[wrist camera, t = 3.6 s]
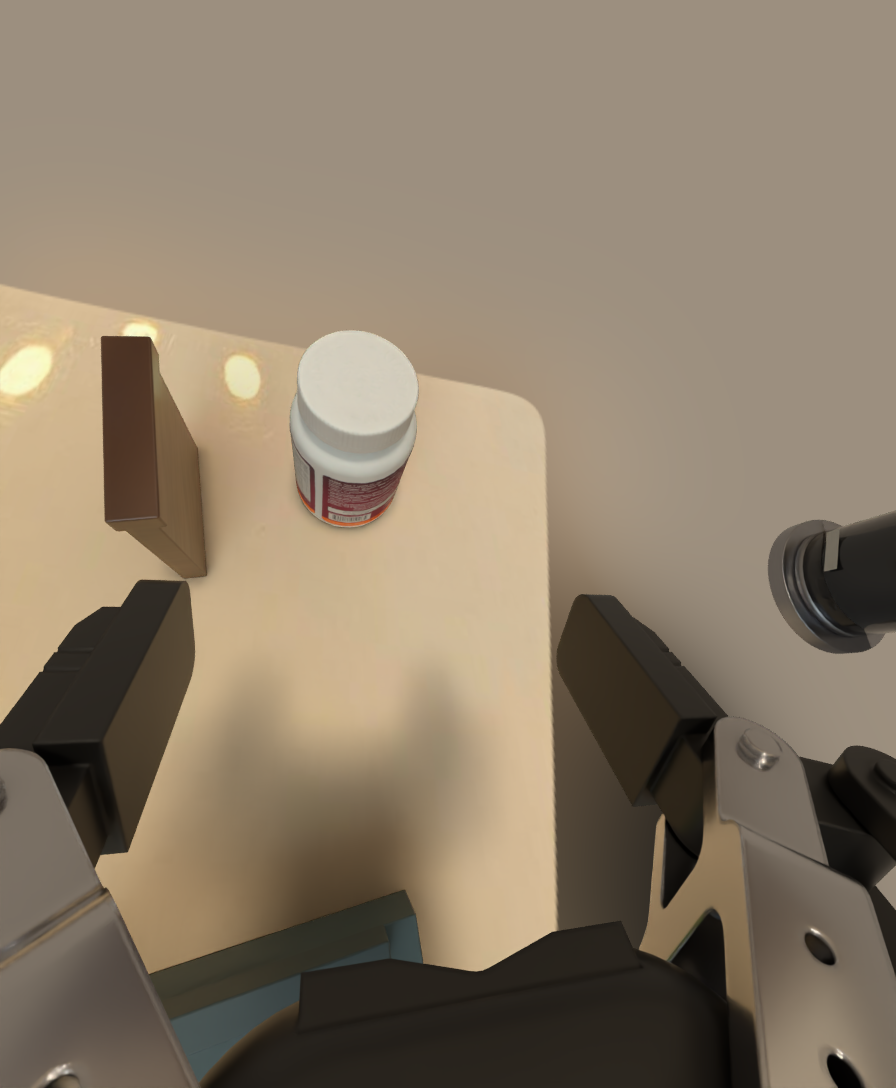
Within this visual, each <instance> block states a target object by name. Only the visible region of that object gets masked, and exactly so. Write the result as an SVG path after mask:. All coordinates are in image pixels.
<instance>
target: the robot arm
mask: <svg viewBox="0 0 896 1088" xmlns="http://www.w3.org/2000/svg"><path fill="white" fill-rule="evenodd" d="M795 575H796V581H797V585H798V588H799V591H800V594H801V596H802V598H803V600H804V602H805V604H806V606H807V607H808V609H809V610H810V612H811V613H812V614H813V615H814V617H815V618H816V619H817V620H818V621H819V622H820V623H821V624H822V625H824V626H825V627H826V628H828V629H829V630H831V631H832V632H834V633H836V634H838V635H841V636H845V637H864V636H868V635H872V634H883V633H893V632H896V511H892V512H889V513H886V514H883V515H879V516H876V517H873V518H870V519H866V520H863V521H859V522H856V523H853V524H849V525H846V526H842V527H839V528H836V529H833V530H829V531H822V532H819V533H816V534H813V535H811V536H809V537H808V538H806V539H805V540H804V541H803V542H802V544H801V545H800V547H799V549H798V552H797V555H796V560H795ZM194 660H195V641H194V630H193V619H192V609H191V598H190V589H189V585H188V583H187V582H186V581H167V580H139V581H138V582H137V583H136V584H135V586H134V587H133V589H132V590H131V592H130V593H129V595H128V597H127V598H126V600H125V601H124V603H123V604H122V606H121V607H101V608H100V609H98V610H97V611H95V612H94V613H92V614H91V615H89V616H88V617H86V618H85V619H83V620H82V621H80V622H79V623H77V624H76V625H75V626H74V627H73V628H72V630H71V631H70V632H69V634H68V635H67V636H66V638H65V639H64V640H63V642H62V643H61V644H60V646H59V647H58V652H54V654H53V655H52V656H51V658H50V659H49V660H48V662H47V663H46V664H45V666H44V670H43V672H39V674H38V675H37V676H36V678H35V679H34V680H33V682H32V683H31V684H30V686H29V687H28V688H27V690H26V691H25V692H24V694H23V695H22V696H21V698H20V699H19V700H18V702H17V703H16V704H15V706H14V707H13V708H12V710H11V711H10V712H9V714H8V715H7V716H6V718H5V719H4V720H3V722H2V723H1V724H0V1088H896V910H895V909H894V908H893V906H891V904H890V903H889V902H888V900H887V899H886V898H885V897H884V896H883V894H882V893H881V892H880V891H879V890H878V888H877V887H876V886H875V885H876V884H877V883H878V882H879V881H880V880H881V879H882V878H883V877H884V876H885V875H886V874H887V873H888V872H889V871H890V870H891V869H892V868H893V867H894V866H896V759H894V758H893V757H891V756H889V755H887V754H885V753H882V752H880V751H877V750H875V749H871V748H868V747H864V746H850V747H848V748H846V750H844V752H843V753H842V754H841V755H840V757H839V758H838V759H837V761H836V762H835V763H834V764H833V765H832V764H828V763H823V762H819V761H815V760H811V759H806V758H803V757H799V756H798V755H797V754H796V752H795V751H794V750H793V749H792V748H791V747H790V746H789V745H788V744H787V743H786V742H785V741H784V740H783V739H781V738H780V737H779V736H778V735H776V734H775V733H773V732H772V731H770V730H769V729H767V728H765V727H764V726H762V725H759V724H757V723H755V722H753V721H750V720H747V719H744V718H740V717H728V715H727V714H726V713H725V712H724V711H723V710H722V709H721V708H720V706H719V705H718V704H717V703H716V702H715V701H714V700H713V698H712V697H711V696H710V695H709V694H708V693H707V691H706V690H705V689H704V688H703V687H702V686H701V685H700V684H699V682H698V681H697V680H696V679H695V678H694V677H693V676H692V674H691V673H690V672H689V671H688V670H687V669H686V668H685V667H684V666H681V662H680V661H679V660H678V659H677V657H676V656H675V655H674V654H673V653H672V652H669V649H668V647H667V646H666V645H665V644H664V643H663V641H662V640H661V639H660V638H659V637H658V636H657V635H656V634H655V632H653V631H652V630H650V629H649V628H648V627H646V626H645V625H644V624H642V623H641V622H639V621H638V620H636V619H635V618H633V617H632V616H631V615H630V614H629V612H628V611H627V610H626V609H625V608H624V607H623V605H622V604H621V603H620V602H619V601H618V600H617V599H616V598H615V597H614V596H611V595H584V594H581V595H579V596H577V597H576V598H575V600H574V602H573V605H572V607H571V611H570V613H569V616H568V619H567V622H566V625H565V628H564V630H563V633H562V636H561V639H560V642H559V645H558V649H557V667H558V671H559V673H560V676H561V677H562V679H563V681H564V683H565V685H566V686H567V688H568V690H569V692H570V694H571V696H572V697H573V699H574V701H575V703H576V705H577V707H578V708H579V710H580V712H581V714H582V716H583V717H584V719H585V721H586V723H587V725H588V726H589V728H590V730H591V732H592V733H593V736H594V737H595V739H596V741H597V743H598V745H599V746H600V748H601V750H602V752H603V753H604V755H605V757H606V759H607V761H608V763H609V765H610V766H611V768H612V770H613V772H614V774H615V775H616V777H617V779H618V781H619V783H620V784H621V786H622V788H623V790H624V791H625V794H626V795H627V797H628V799H629V801H630V803H631V804H632V806H633V807H635V806H646V805H656V804H658V806H659V808H660V809H661V811H662V815H661V817H660V818H659V820H658V822H657V827H656V837H655V850H654V861H653V873H652V886H651V897H650V909H649V919H648V924H647V928H646V932H645V935H644V938H643V940H642V943H641V946H640V949H639V950H638V949H635V948H632V945H631V943H630V941H629V938H628V936H627V934H626V931H625V929H624V927H623V925H622V922H621V921H617V922H611V923H604V924H598V925H592V926H586V927H580V928H574V929H568V930H561V931H555V932H551V933H549V934H548V935H546V936H544V937H542V938H541V939H539V940H537V941H535V942H534V943H532V944H530V945H528V946H527V947H525V948H523V949H521V950H520V951H518V952H516V953H514V954H513V955H511V956H509V957H507V958H506V959H504V960H502V961H500V962H499V963H497V964H495V965H493V966H492V967H490V968H488V969H486V970H483V971H478V972H475V971H466V970H460V969H454V968H447V967H441V966H435V965H429V964H422V963H416V962H410V961H404V960H398V959H391V958H389V959H383V960H377V961H371V962H364V963H358V964H352V965H346V966H340V967H334V968H327V969H321V970H315V971H309V972H303V973H301V978H300V995H299V1001H297V1002H295V1003H293V1004H292V1005H290V1006H288V1007H286V1008H284V1009H282V1010H280V1011H278V1012H276V1013H275V1014H274V1015H272V1016H271V1017H269V1018H268V1019H266V1020H265V1021H263V1022H262V1023H260V1024H259V1025H258V1026H256V1027H255V1028H253V1029H252V1030H251V1031H250V1032H249V1033H247V1034H246V1035H245V1036H244V1037H243V1038H242V1039H240V1040H239V1041H238V1042H237V1043H236V1044H235V1045H233V1046H232V1047H231V1048H230V1049H229V1050H228V1051H227V1052H226V1053H225V1054H224V1055H223V1056H222V1057H221V1058H220V1059H219V1061H218V1062H217V1063H216V1064H215V1065H214V1066H213V1067H212V1068H211V1069H210V1070H209V1071H208V1072H207V1073H206V1074H205V1076H204V1077H203V1078H202V1079H201V1081H200V1082H199V1083H198V1080H197V1078H196V1076H195V1074H194V1072H193V1070H192V1067H191V1065H190V1063H189V1061H188V1059H187V1057H186V1054H185V1052H184V1050H183V1048H182V1046H181V1044H180V1041H179V1039H178V1037H177V1035H176V1033H175V1031H174V1028H173V1026H172V1024H171V1022H170V1020H169V1018H168V1016H167V1013H166V1011H165V1009H164V1007H163V1005H162V1003H161V1000H160V998H159V996H158V994H157V992H156V990H155V987H154V985H153V983H152V981H151V979H150V977H149V974H148V972H147V970H146V968H145V966H144V964H143V961H142V959H141V957H140V955H139V953H138V951H137V948H136V946H135V944H134V942H133V940H132V938H131V935H130V933H129V931H128V929H127V927H126V925H125V922H124V920H123V918H122V916H121V914H120V912H119V909H118V907H117V905H116V903H115V901H114V899H113V897H112V896H111V894H110V892H109V890H108V889H107V888H103V886H102V884H101V882H100V880H99V878H98V876H97V874H96V872H95V867H96V864H97V862H98V859H99V857H100V855H104V854H115V853H125V852H128V850H129V848H130V845H131V842H132V839H133V837H134V834H135V831H136V828H137V826H138V823H139V820H140V817H141V815H142V812H143V809H144V806H145V804H146V801H147V798H148V795H149V793H150V790H151V787H152V784H153V782H154V779H155V776H156V773H157V771H158V768H159V765H160V762H161V760H162V757H163V754H164V751H165V749H166V746H167V743H168V740H169V738H170V735H171V732H172V729H173V727H174V724H175V721H176V718H177V716H178V713H179V710H180V707H181V705H182V702H183V699H184V696H185V694H186V691H187V688H188V685H189V683H190V680H191V677H192V672H193V667H194Z"/></svg>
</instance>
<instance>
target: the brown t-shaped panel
mask: <svg viewBox="0 0 896 1088" xmlns="http://www.w3.org/2000/svg"><path fill="white" fill-rule="evenodd" d="M101 363H102V411H103V459H104V507H105V522H106V523H107V524H108V525H110V526H111V527H112V528H113V529H115V530H116V531H127V532H128V533H129V534H130V535H132V536H133V537H134V538H135V539H136V540H138V541H139V542H140V543H141V544H142V545H144V546H145V547H146V548H147V549H149V550H150V551H151V552H152V553H153V554H155V555H156V556H157V557H158V558H159V559H161V560H162V561H163V562H164V563H166V564H167V565H168V566H169V567H170V568H172V569H173V570H174V571H175V572H177V573H178V574H179V575H180V576H181V577H183V578H193V577H201V576H206V575H207V573H206V559H205V545H204V531H203V517H202V503H201V489H200V475H199V461H198V448H197V446H196V444H195V442H194V440H193V438H192V436H191V434H190V432H189V430H188V428H187V426H186V424H185V422H184V420H183V418H182V416H181V414H180V412H179V410H178V408H177V406H176V404H175V402H174V400H173V398H172V396H171V394H170V392H169V390H168V388H167V386H166V384H165V382H164V380H163V378H162V376H161V374H160V370H159V354H158V352H157V350H156V348H155V346H154V344H153V342H152V340H151V338H150V337H137V336H102V337H101Z"/></svg>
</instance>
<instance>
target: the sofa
mask: <svg viewBox="0 0 896 1088" xmlns="http://www.w3.org/2000/svg"><path fill="white" fill-rule="evenodd" d="M389 958H391V959H398V960H404V961H410V962H416V963H422V964H423V958H422V951H421V945H420V938H419V932H418V925H417V918H416V914H415V912H414V909H413V907H412V905H411V902H410V900H409V898H408V896H407V893H406V891H405V890H403V891H400V892H397V893H394V894H391V895H388V896H385V897H382V898H379V899H376V900H373V901H370V902H367V903H364V904H361V905H358V906H355V907H352V908H349V909H346V910H343V911H340V912H337V913H334V914H331V915H328V916H325V917H322V918H319V919H316V920H313V921H310V922H307V923H304V924H301V925H298V926H295V927H292V928H289V929H286V930H283V931H280V932H277V933H274V934H271V935H268V936H265V937H262V938H259V939H256V940H253V941H250V942H247V943H244V944H241V945H238V946H235V947H232V948H229V949H226V950H223V951H220V952H217V953H214V954H211V955H208V956H205V957H201V958H198V959H195V960H192V961H189V962H186V963H183V964H180V965H177V966H174V967H171V968H168V969H165V970H162V971H159V972H156V973H153V974H150V975H149V977H150V979H151V981H152V983H153V985H154V987H155V990H156V992H157V994H158V996H159V998H160V1000H161V1003H162V1005H163V1007H164V1009H165V1011H166V1013H167V1016H168V1018H169V1020H170V1022H171V1024H172V1026H173V1028H174V1031H175V1033H176V1035H177V1037H178V1039H179V1041H180V1044H181V1046H182V1048H183V1050H184V1052H185V1054H186V1057H187V1059H188V1061H189V1063H190V1065H191V1067H192V1070H193V1072H194V1074H195V1076H196V1078H197V1080H198V1083H199V1082H200V1081H201V1079H202V1078H203V1077H204V1076H205V1074H206V1073H207V1072H208V1071H209V1070H210V1069H211V1068H212V1067H213V1066H214V1065H215V1064H216V1063H217V1062H218V1061H219V1059H220V1058H221V1057H222V1056H223V1055H224V1054H225V1053H226V1052H227V1051H228V1050H229V1049H230V1048H231V1047H232V1046H233V1045H235V1044H236V1043H237V1042H238V1041H239V1040H240V1039H242V1038H243V1037H244V1036H245V1035H246V1034H247V1033H249V1032H250V1031H251V1030H252V1029H253V1028H255V1027H256V1026H258V1025H259V1024H260V1023H262V1022H263V1021H265V1020H266V1019H268V1018H269V1017H271V1016H272V1015H274V1014H275V1013H276V1012H278V1011H280V1010H282V1009H284V1008H286V1007H288V1006H290V1005H292V1004H293V1003H295V1002H297V1001H299V995H300V978H301V973H303V972H309V971H315V970H321V969H327V968H334V967H340V966H346V965H352V964H358V963H364V962H371V961H377V960H383V959H389Z"/></svg>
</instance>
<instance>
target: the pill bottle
mask: <svg viewBox="0 0 896 1088" xmlns="http://www.w3.org/2000/svg"><path fill="white" fill-rule="evenodd" d="M418 393H419V386H418V379H417V375H416V373H415V370H414V368H413V366H412V364H411V362H410V361H409V359H408V358H407V357H406V356H405V354H404V353H403V352H402V351H401V350H400V349H399V348H398V347H396V346H395V345H394V344H392V343H391V342H389V341H388V340H386V339H384V338H382V337H380V336H377V335H375V334H372V333H368V332H362V331H353V330H347V331H338V332H334V333H330V334H328V335H326V336H323V337H322V338H320V339H318V340H317V341H316V342H314V343H313V344H312V345H311V346H310V347H309V348H308V349H307V350H306V351H305V353H304V354H303V356H302V358H301V361H300V363H299V367H298V372H297V393H296V395H295V397H294V399H293V402H292V405H291V410H290V432H291V439H292V448H293V457H294V467H295V475H296V483H297V488H298V492H299V495H300V498H301V500H302V502H303V503H304V505H305V506H306V507H307V509H308V510H309V511H310V512H311V513H312V514H313V515H315V516H316V517H317V518H319V519H320V520H322V521H324V522H326V523H328V524H331V525H333V526H338V527H358V526H362V525H365V524H368V523H370V522H372V521H374V520H375V519H377V518H378V517H380V516H381V515H382V514H383V513H384V512H385V511H386V510H387V508H388V507H389V505H390V503H391V502H392V499H393V497H394V495H395V492H396V490H397V487H398V484H399V482H400V479H401V476H402V474H403V471H404V468H405V466H406V463H407V461H408V458H409V456H410V454H411V452H412V449H413V447H414V443H415V439H416V432H417V421H416V415H415V411H414V410H415V407H416V404H417V400H418Z"/></svg>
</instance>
